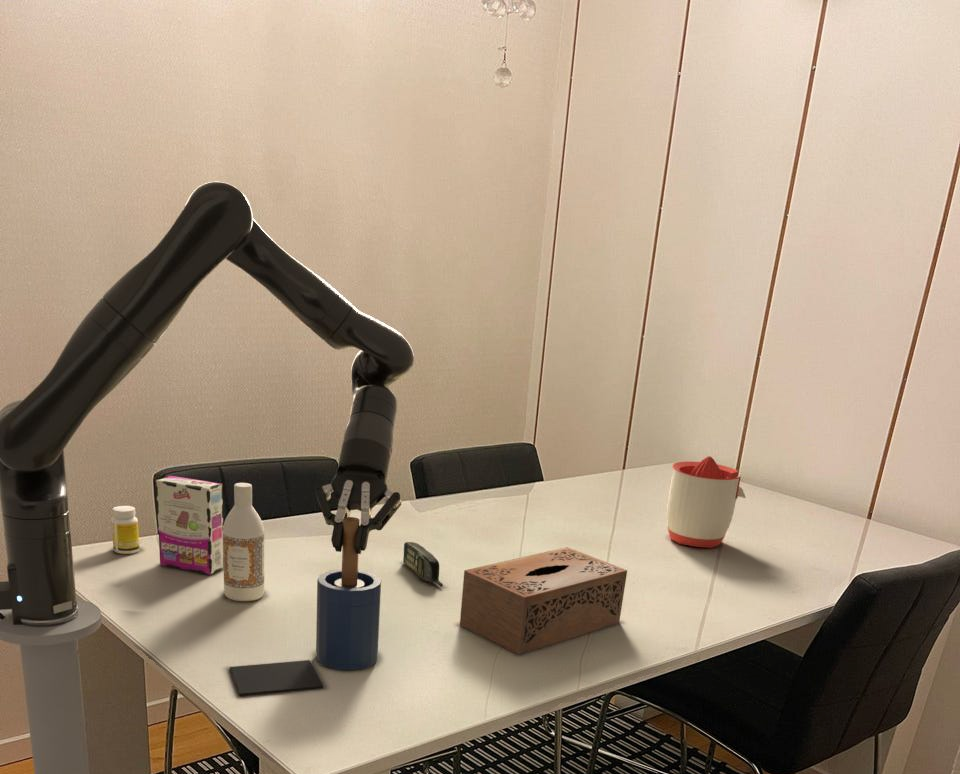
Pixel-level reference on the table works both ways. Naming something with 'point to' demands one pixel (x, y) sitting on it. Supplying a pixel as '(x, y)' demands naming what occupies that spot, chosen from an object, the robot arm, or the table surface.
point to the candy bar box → (190, 524)
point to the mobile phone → (421, 562)
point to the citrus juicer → (701, 502)
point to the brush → (349, 556)
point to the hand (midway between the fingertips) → (347, 550)
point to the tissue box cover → (541, 598)
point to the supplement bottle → (125, 530)
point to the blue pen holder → (347, 622)
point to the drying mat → (275, 678)
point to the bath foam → (243, 548)
